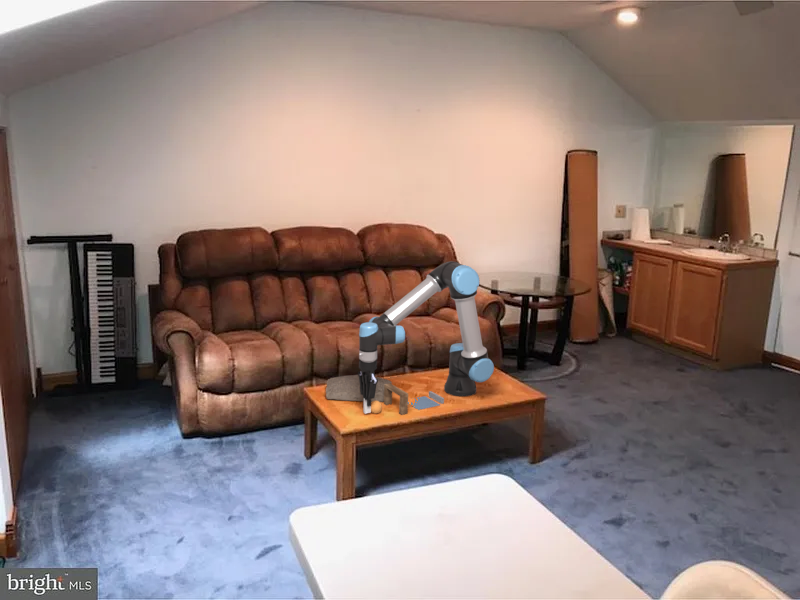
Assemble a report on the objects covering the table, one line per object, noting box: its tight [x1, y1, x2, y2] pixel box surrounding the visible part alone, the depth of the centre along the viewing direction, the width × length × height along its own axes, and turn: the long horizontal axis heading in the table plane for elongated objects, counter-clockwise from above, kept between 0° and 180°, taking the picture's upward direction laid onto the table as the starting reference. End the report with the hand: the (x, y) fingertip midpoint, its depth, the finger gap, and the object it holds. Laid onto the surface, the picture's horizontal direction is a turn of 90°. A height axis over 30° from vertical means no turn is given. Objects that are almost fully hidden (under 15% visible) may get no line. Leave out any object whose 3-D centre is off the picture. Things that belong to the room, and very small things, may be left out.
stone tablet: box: [325, 374, 393, 403], centre depth 312 cm, size 20×8×30 cm
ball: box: [371, 401, 383, 414], centre depth 291 cm, size 6×6×6 cm
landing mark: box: [408, 395, 441, 411], centre depth 305 cm, size 12×12×1 cm
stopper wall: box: [428, 390, 445, 405], centre depth 309 cm, size 1×10×2 cm, turn 33°
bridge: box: [383, 383, 409, 416], centre depth 296 cm, size 3×14×9 cm, turn 33°
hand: (367, 412), depth 289 cm, fingers closed
